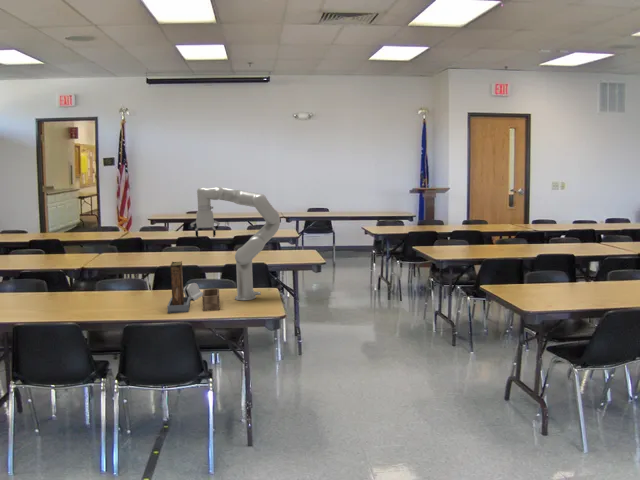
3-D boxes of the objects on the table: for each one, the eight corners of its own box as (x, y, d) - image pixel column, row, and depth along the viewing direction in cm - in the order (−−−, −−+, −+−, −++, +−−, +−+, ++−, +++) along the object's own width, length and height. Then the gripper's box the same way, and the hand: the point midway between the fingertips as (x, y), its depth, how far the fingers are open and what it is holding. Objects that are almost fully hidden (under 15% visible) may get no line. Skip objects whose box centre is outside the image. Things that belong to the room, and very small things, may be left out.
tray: (190, 303, 324) (190, 296, 323) (188, 312, 302) (187, 305, 302) (171, 304, 322) (170, 297, 321) (167, 313, 300) (167, 306, 300)
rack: (219, 301, 326) (219, 288, 325) (219, 309, 306) (218, 295, 305) (204, 302, 325) (203, 289, 324) (203, 310, 304) (202, 296, 303)
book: (182, 309, 304) (180, 265, 301) (172, 310, 303) (170, 265, 300) (184, 303, 320) (181, 260, 317) (174, 303, 319) (172, 261, 316)
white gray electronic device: (194, 300, 331) (188, 285, 330) (187, 303, 331) (181, 287, 331) (204, 294, 347) (198, 280, 346) (197, 297, 348) (191, 282, 347)
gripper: (219, 207, 330) (220, 236, 332) (189, 208, 327) (191, 237, 329) (219, 208, 323) (220, 237, 325) (189, 209, 320) (190, 238, 322)
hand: (205, 237), depth 327 cm, fingers open, 9 cm apart
